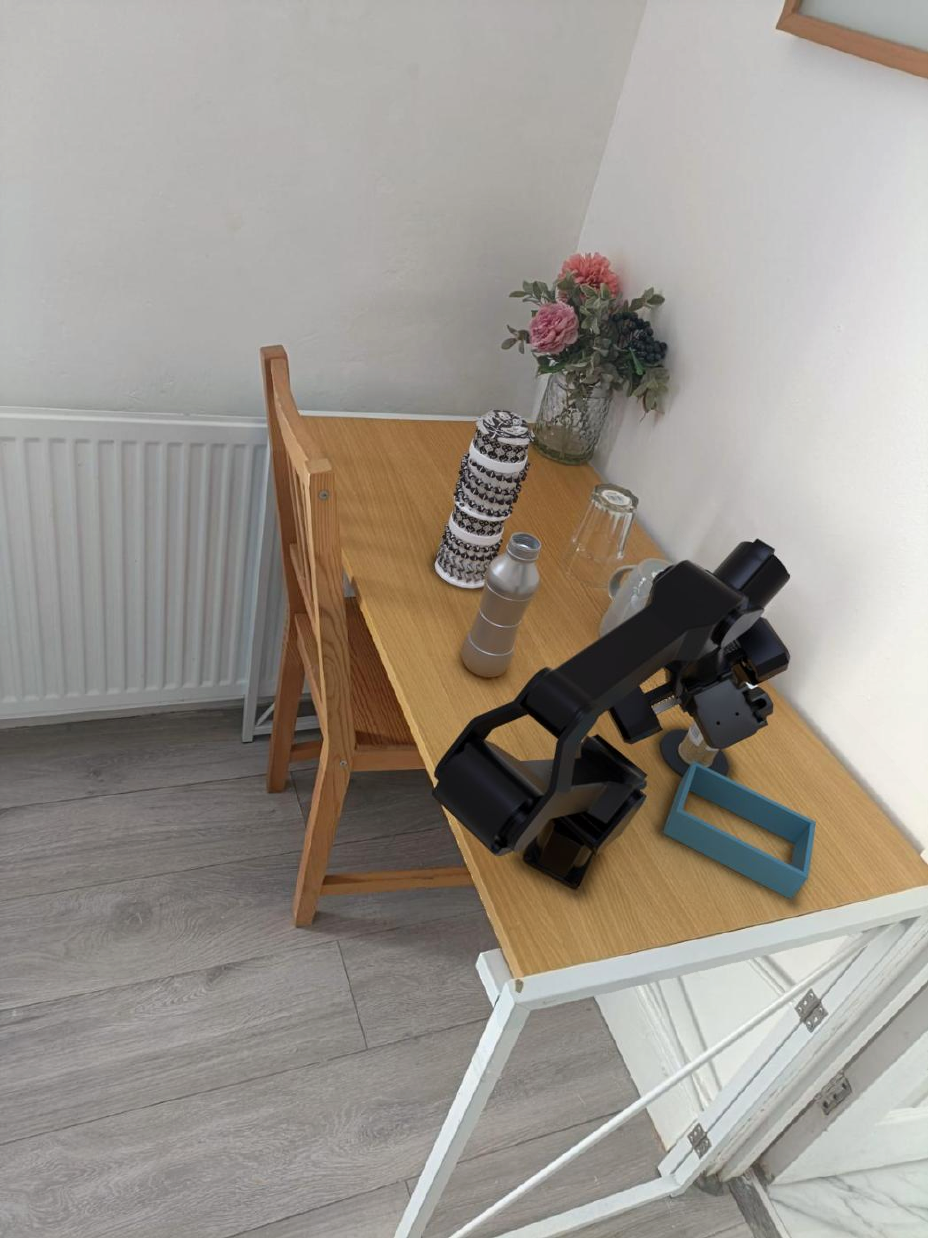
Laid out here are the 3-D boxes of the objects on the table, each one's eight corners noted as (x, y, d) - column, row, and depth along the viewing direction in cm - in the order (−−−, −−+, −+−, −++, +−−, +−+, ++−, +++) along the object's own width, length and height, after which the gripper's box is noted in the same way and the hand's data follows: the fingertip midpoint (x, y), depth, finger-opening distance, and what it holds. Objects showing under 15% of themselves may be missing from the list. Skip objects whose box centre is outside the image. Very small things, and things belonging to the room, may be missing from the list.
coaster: (721, 796, 106) (722, 795, 106) (652, 762, 108) (653, 760, 108) (733, 752, 113) (734, 750, 113) (668, 720, 115) (669, 718, 115)
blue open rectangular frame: (790, 900, 96) (808, 878, 94) (662, 833, 99) (676, 810, 97) (799, 843, 103) (816, 821, 101) (679, 782, 106) (693, 760, 104)
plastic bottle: (502, 690, 111) (550, 564, 99) (452, 673, 111) (493, 546, 99) (510, 659, 116) (557, 536, 104) (462, 643, 116) (503, 518, 104)
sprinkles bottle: (711, 775, 108) (759, 697, 100) (675, 762, 108) (721, 684, 100) (711, 750, 112) (758, 673, 104) (677, 738, 112) (721, 660, 104)
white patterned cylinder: (502, 589, 129) (554, 437, 114) (444, 591, 125) (490, 434, 110) (479, 552, 135) (526, 404, 120) (424, 552, 131) (465, 399, 116)
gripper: (647, 766, 80) (652, 808, 93) (832, 677, 80) (810, 732, 93) (592, 666, 85) (604, 720, 99) (765, 582, 85) (754, 647, 99)
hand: (693, 706), depth 97 cm, fingers open, 9 cm apart
